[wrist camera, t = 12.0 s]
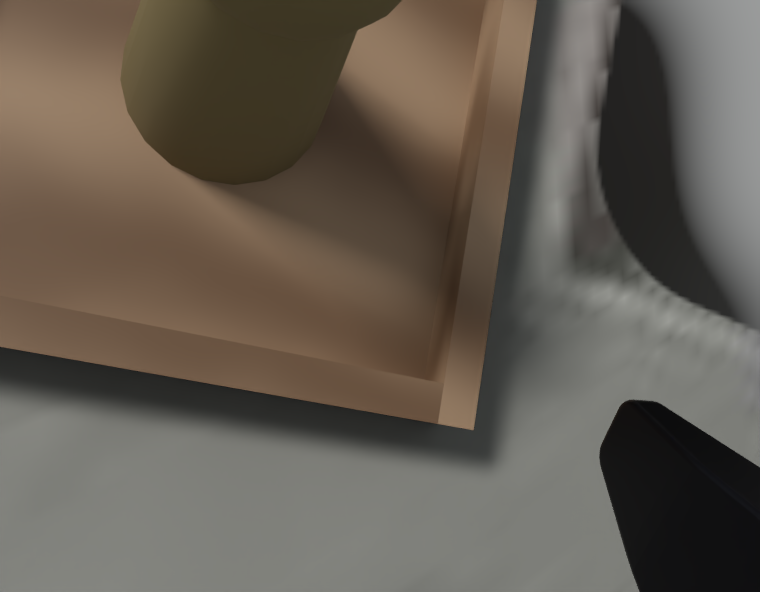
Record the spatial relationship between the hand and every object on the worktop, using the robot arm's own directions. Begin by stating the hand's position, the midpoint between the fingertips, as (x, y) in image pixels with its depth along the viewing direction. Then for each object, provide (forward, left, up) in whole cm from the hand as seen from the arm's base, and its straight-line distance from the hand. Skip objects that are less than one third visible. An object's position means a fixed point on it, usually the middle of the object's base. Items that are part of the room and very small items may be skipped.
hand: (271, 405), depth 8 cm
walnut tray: (+7, +6, -13) cm, 16 cm away
